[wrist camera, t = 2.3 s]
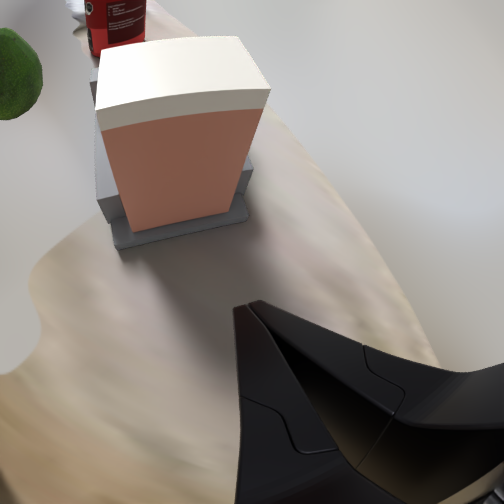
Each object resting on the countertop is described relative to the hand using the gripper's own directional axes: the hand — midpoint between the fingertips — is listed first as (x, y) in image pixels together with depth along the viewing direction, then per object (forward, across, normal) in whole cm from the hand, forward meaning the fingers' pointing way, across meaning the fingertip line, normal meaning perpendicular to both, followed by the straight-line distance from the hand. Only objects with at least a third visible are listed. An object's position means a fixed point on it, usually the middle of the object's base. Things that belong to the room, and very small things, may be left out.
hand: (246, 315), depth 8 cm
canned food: (+35, +4, -18) cm, 40 cm away
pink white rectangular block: (+15, 0, 0) cm, 15 cm away
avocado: (+28, +16, -11) cm, 34 cm away
